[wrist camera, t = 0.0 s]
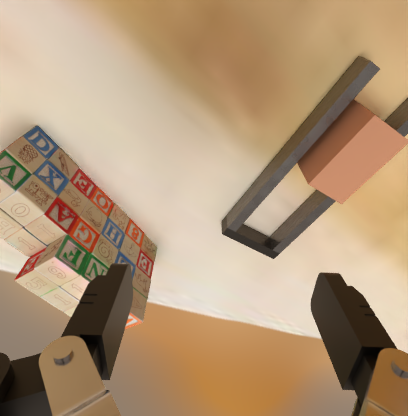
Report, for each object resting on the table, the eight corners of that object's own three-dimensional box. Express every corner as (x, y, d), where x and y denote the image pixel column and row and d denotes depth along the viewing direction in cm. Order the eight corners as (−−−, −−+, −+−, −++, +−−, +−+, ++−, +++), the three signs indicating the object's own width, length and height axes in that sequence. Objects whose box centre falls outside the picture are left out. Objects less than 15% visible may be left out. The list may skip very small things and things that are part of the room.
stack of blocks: (2, 151, 34) (-85, 217, 24) (38, 123, 32) (-40, 182, 22) (126, 262, 44) (101, 340, 34) (159, 246, 42) (143, 324, 32)
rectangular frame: (358, 56, 27) (370, 60, 25) (416, 103, 30) (431, 111, 28) (221, 221, 39) (222, 234, 37) (270, 246, 42) (273, 258, 40)
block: (347, 95, 30) (375, 114, 25) (378, 118, 31) (410, 141, 26) (294, 156, 34) (308, 184, 29) (323, 175, 35) (341, 204, 30)
